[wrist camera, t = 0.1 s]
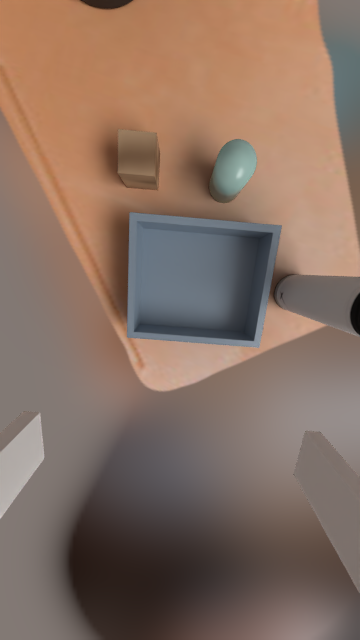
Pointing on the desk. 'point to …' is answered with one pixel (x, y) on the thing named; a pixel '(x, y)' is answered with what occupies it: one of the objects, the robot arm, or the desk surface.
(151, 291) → the tote
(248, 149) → the teal cylinder
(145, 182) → the walnut cube
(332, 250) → the desk surface
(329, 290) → the travel mug
